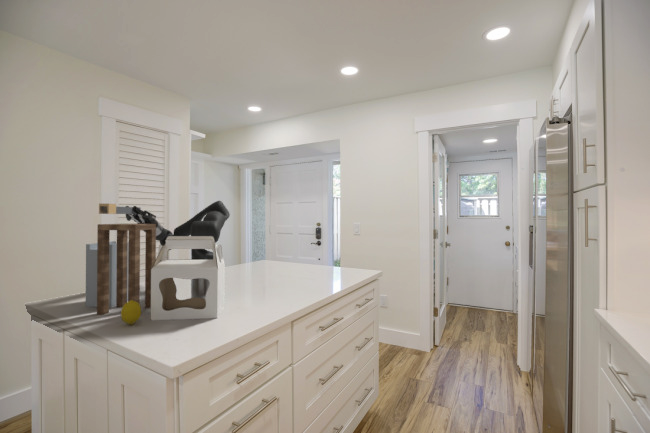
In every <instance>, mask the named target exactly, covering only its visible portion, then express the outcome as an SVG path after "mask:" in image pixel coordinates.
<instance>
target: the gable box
mask: <svg viewBox="0 0 650 433" xmlns="http://www.w3.org/2000/svg"><path fill="white" fill-rule="evenodd" d="M165 241H166V244H164V245H160V244H159V245H158V252H157V253H158V254H157V255H156V260H155V262H154V264H153V266H152V268H151V308H150V321H177V320H200V319H201V320H202V319H203V320H204V319H205V320H207V319H208V320H209V319H218V318H219V316H220V315H221V313H222V311H223V310H224V309H225V304H226V303H225V298H226V295H225V294H226V290H225V289H226V287H225V284H226V283H225V282H226V280H225V279H226V272H225V271H226V264H225V263H226V262H225V259H224V257H223V251H222V248H223V247H222V244H217V243H215V240H214V237H213V236H191V235H189V236H168V237H167V239H166V240H165ZM169 249H171V250H191V249H205V250H212V252H213V259H191V258H189V259H188V258H187V259H168V252H169V251H171V250H169ZM196 278H205V279H207V280H209V282H210V285H209V288H208V290H207V293H206V296H205V299H204V298H191V297H189V298H186V299H178V298H177V292H178V290H177V286H176V283H175V281H174V279H181V280H191V279H196Z"/></svg>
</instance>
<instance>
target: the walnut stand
mask: <svg viewBox="0 0 650 433" xmlns="http://www.w3.org/2000/svg"><path fill="white" fill-rule="evenodd" d="M143 230H146V233H145V260H144V262H145V267H144V268H145V272H144V273H145V274H144V278H145V279H144V280H145V282H144V286H145V287H144V289H145V290H144V292H145V293H144V308H147V309H149V308H150V309H151V268H152V266H153V264H154V262H155V260H156V258H157V255H156V254H157V252H156V251H157V247H156V246H157V242H156V241H157V240H156V224H138V223H103V224H102V223H100V224H97V233H96V234H97V237H96V238H97V240H96V241H97V242H96V243H97V307H96V315H97V314H98V315H99V316H103V315H106V314H109V313H110V307H109V242H110V233H111V232H110V231H116V243H117V282H116V305H115V306H116V308H122V307H123V306H124V304H126V303H127V302H129V301H130V300H133V301H136V302H138V303H139V305H140V306H141V304H140V302H141V301H140V287H141V285H140V282H141V281H140V279H141V278H140V277H141V231H143ZM128 242H129V252H128V301H127V245H128Z"/></svg>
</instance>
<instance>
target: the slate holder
mask: <svg viewBox="0 0 650 433" xmlns="http://www.w3.org/2000/svg"><path fill="white" fill-rule="evenodd" d="M128 252H129V241H128V245H127V302H128ZM116 282H117V240H116V241H115V240H114V241H109V308H112V307H114V306H116ZM85 307H90V308H94V307H95V308H97V242H96V243H87V244H86V243H85Z"/></svg>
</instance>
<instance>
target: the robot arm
mask: <svg viewBox="0 0 650 433" xmlns="http://www.w3.org/2000/svg"><path fill="white" fill-rule="evenodd" d="M125 207H130V206H129V205H126V206H125ZM132 207H133V211H134V212H135V213H136V214H125V219H126V221H128V222H130V221H131V220H132V221H134V222H135V223H136V224H156V241H159V245H164V244H166V241H165V240H166V239H167V237H168V236H213V237H214V240H215V244H217V242H218V241H219V239H220V236H221V231H222V229H223V227H224V225H225V222H226V221H227V220H228V219H229V218H230V215H231V213H230V211H229V210H228V209H227V206H226V205H225V204H224V203H223V201H222V200H217V201H214V202H213V203H210V205H208V206H206V207H205V208H203V209H202V210H201V211H199V212H198V213H196V214H195V215H194V216H192V217H191V218H190V219H188V220H187V221H185V222H184V223H182V224H180V225H178V226H177V227H175V228H174V230H173V232H172V231H170V230H169V229H167V228H165V227H163V225H161V223H160V222H159V221H158V220H157V219H156V218H157V215H155V214H154V213H151V212H150V211H148V210H143V209H141V210H140V209H139V208H138V207H137V206H136V205H133V206H132ZM142 231H143V232H144V233H145V234H146V230H142ZM168 251H171V249H169V250H168ZM190 251H191V253H190V254H191V258H190V259H213V251H210V250H208V249H190ZM190 280H191V281H190V283H191V284H190V285H191V287H190V298H204V299H205V296H206V293H207V290H208V288H209V285H210V282H209V280H207V279H205V278H196V279H190Z"/></svg>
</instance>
